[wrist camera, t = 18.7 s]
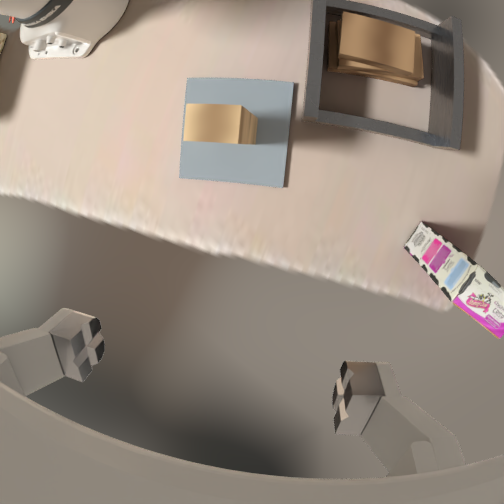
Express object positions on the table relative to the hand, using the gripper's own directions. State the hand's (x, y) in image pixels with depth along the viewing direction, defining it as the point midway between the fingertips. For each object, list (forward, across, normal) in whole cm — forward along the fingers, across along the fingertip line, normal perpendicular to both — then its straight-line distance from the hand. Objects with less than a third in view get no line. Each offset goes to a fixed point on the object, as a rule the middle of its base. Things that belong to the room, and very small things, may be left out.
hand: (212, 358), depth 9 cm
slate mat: (+33, +6, -8) cm, 35 cm away
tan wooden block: (+32, +6, -8) cm, 34 cm away
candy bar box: (+33, -25, +5) cm, 42 cm away
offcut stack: (+33, -11, -21) cm, 41 cm away
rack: (+33, -12, -19) cm, 40 cm away
